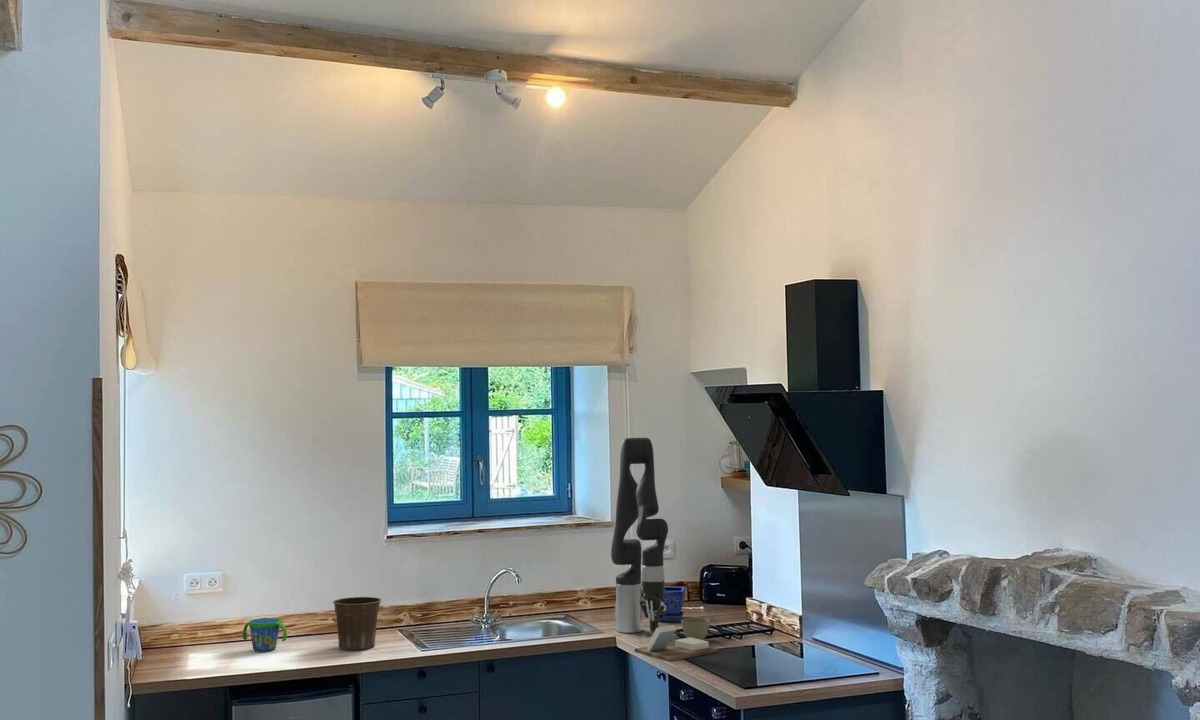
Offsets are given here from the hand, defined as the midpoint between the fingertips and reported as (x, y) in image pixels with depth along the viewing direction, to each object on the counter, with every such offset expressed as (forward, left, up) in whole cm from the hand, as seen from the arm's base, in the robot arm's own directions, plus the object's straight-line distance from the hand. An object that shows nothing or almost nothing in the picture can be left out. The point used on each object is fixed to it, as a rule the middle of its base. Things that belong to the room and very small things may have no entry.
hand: (654, 631), depth 347 cm
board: (+4, +6, -7) cm, 10 cm away
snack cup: (-89, -101, -7) cm, 134 cm away
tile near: (0, 0, -5) cm, 5 cm away
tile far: (+1, +11, -5) cm, 12 cm away
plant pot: (-73, -74, -7) cm, 104 cm away
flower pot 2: (-5, +22, -7) cm, 24 cm away
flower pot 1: (-42, +40, -7) cm, 58 cm away
